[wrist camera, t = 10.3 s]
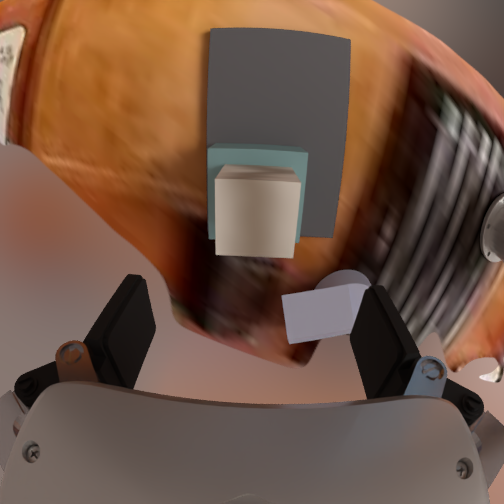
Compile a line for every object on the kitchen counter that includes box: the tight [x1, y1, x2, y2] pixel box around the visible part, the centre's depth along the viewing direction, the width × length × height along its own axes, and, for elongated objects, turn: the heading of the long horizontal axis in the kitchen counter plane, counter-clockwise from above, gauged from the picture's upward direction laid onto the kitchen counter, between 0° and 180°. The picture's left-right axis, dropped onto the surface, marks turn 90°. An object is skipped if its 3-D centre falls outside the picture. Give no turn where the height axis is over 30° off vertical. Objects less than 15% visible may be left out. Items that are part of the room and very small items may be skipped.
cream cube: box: [215, 164, 301, 258], centre depth 23 cm, size 6×6×6 cm
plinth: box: [208, 143, 308, 243], centre depth 28 cm, size 9×9×5 cm
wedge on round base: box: [281, 270, 372, 344], centre depth 35 cm, size 9×7×13 cm
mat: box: [207, 28, 351, 238], centre depth 27 cm, size 15×24×1 cm, turn 178°
